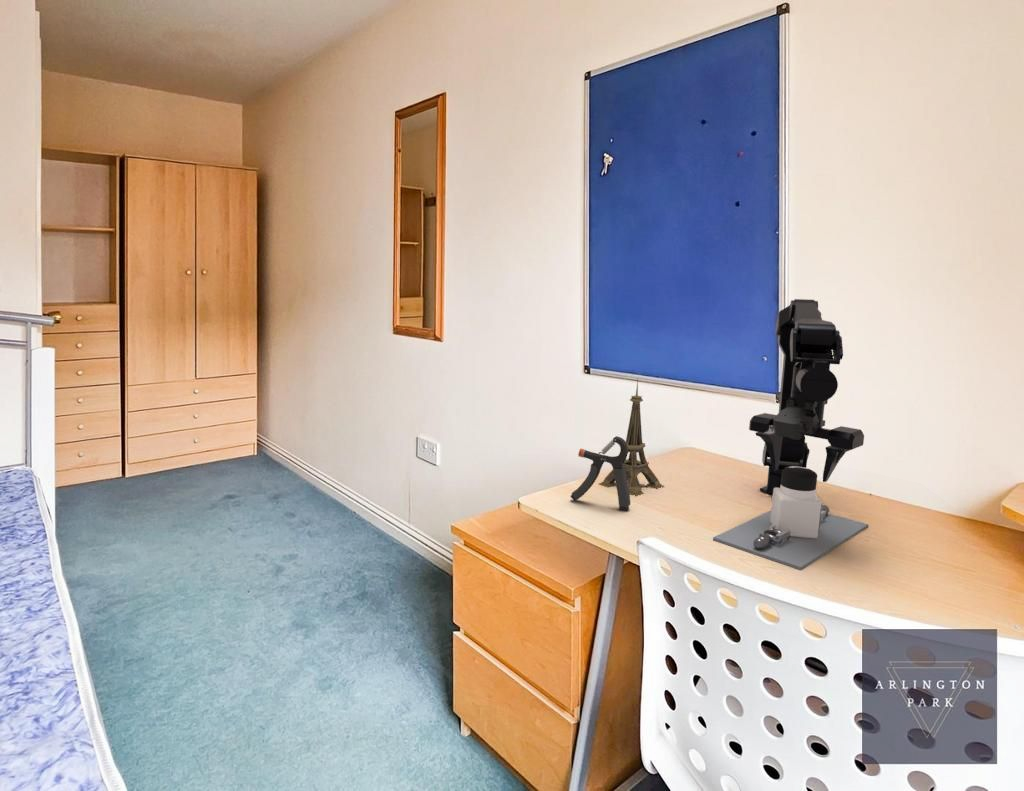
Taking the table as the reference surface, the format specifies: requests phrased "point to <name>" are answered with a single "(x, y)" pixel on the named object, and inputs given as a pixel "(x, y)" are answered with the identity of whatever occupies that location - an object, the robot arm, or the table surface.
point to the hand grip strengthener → (617, 469)
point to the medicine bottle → (797, 503)
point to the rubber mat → (792, 540)
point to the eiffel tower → (634, 454)
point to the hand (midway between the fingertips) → (799, 475)
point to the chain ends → (779, 533)
